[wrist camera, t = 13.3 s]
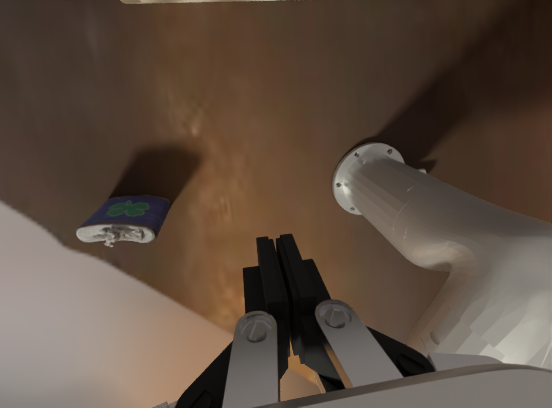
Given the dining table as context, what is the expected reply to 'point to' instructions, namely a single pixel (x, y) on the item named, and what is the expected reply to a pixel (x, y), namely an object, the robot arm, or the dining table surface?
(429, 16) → the dining table surface
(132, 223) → the flask
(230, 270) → the dining table surface
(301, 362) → the robot arm
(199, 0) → the channel
